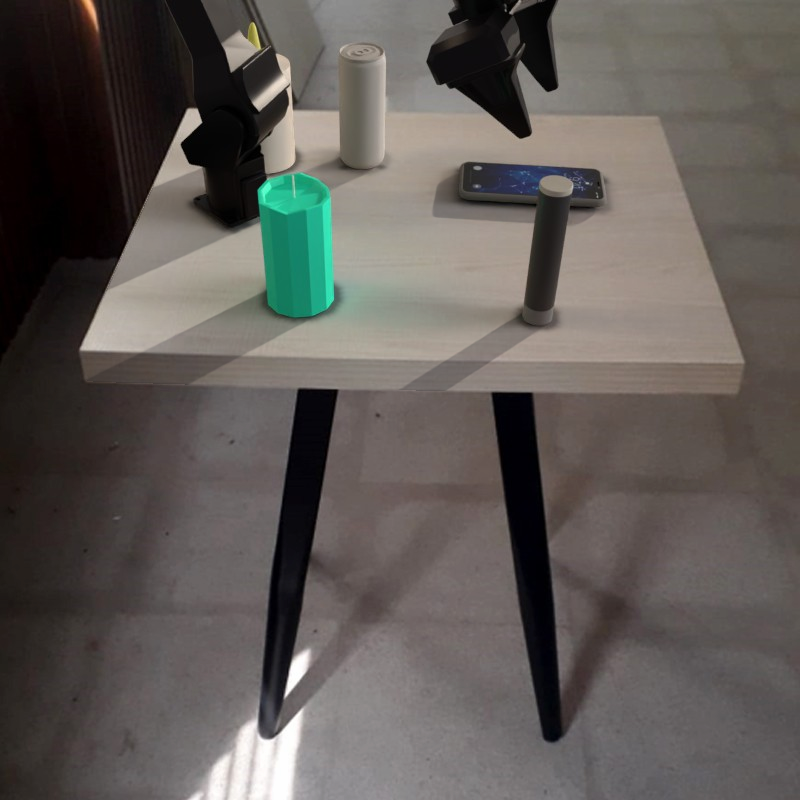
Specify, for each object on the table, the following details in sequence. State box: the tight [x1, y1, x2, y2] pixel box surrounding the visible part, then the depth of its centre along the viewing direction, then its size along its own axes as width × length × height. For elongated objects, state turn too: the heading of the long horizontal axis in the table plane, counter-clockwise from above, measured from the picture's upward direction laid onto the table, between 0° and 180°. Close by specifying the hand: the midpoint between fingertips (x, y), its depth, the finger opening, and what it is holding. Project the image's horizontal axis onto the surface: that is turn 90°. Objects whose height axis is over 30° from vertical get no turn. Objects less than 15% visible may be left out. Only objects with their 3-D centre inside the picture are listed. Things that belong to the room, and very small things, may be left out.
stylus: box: [521, 175, 573, 327], centre depth 79 cm, size 3×3×13 cm
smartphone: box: [458, 161, 608, 208], centre depth 99 cm, size 7×1×15 cm
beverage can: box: [337, 41, 387, 170], centre depth 99 cm, size 5×5×12 cm
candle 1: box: [247, 22, 296, 175], centre depth 98 cm, size 6×6×15 cm
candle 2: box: [258, 172, 335, 318], centre depth 80 cm, size 6×6×12 cm
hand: (540, 112), depth 78 cm, fingers open, 9 cm apart
